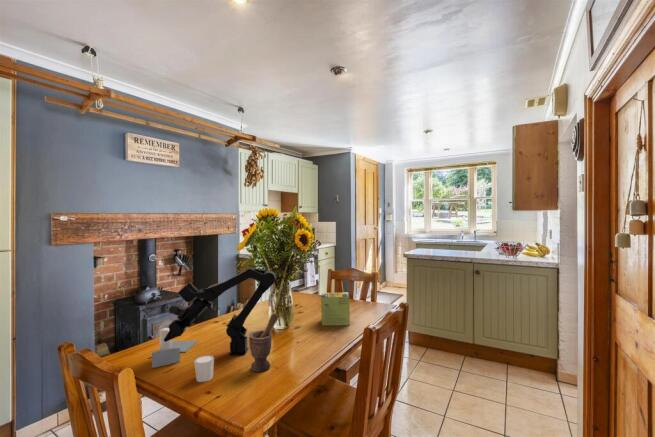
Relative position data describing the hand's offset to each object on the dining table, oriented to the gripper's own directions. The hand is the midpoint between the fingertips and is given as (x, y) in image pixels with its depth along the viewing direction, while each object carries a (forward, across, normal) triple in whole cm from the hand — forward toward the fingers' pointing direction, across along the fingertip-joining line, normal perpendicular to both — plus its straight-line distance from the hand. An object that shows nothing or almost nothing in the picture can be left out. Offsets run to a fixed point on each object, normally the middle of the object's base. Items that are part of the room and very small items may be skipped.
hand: (168, 336), depth 133 cm
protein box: (-49, -30, +61) cm, 83 cm away
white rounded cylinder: (+7, 0, +6) cm, 9 cm away
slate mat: (+6, -11, +7) cm, 14 cm away
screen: (+5, +7, +7) cm, 11 cm away
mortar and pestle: (-23, +16, +35) cm, 45 cm away
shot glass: (-8, +21, +20) cm, 30 cm away
